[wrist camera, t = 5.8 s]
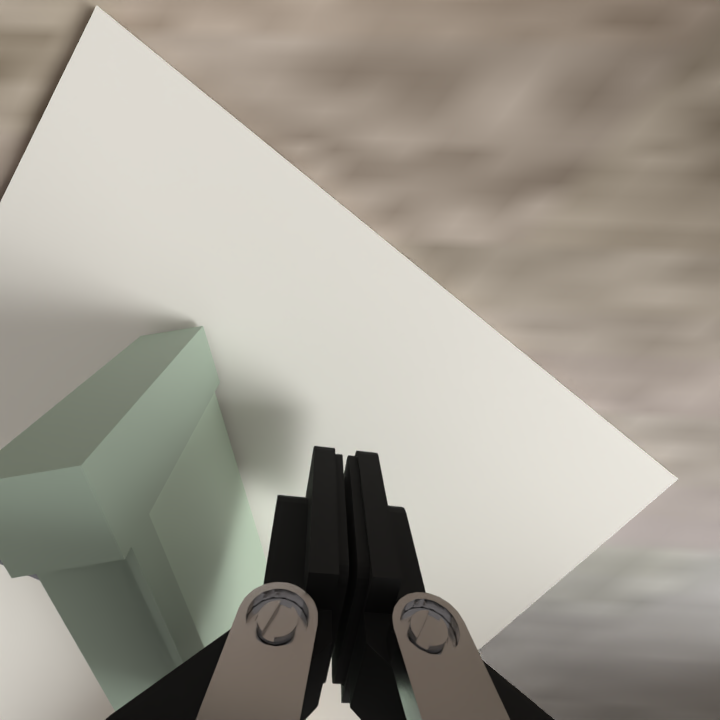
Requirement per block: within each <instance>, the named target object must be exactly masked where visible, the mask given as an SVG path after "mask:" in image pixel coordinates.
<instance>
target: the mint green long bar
mask: <svg viewBox="0 0 720 720" xmlns="http://www.w3.org/2000/svg"><path fill="white" fill-rule="evenodd" d="M219 383H220V381H219V378H218V374H217V371H216V368H215V364H214V361H213V357H212V354H211V351H210V347H209V344H208V341H207V337H206V334H205V330H204V327H203V326H199V327H193V328H187V329H181V330H175V331H168V332H162V333H156V334H150V335H144V336H140V337H139V338H138V339H136V340H135V341H134V342H133V343H131V344H130V345H129V346H128V347H126V348H125V349H124V350H123V351H122V352H120V353H119V354H118V355H117V356H115V357H114V358H113V359H112V360H110V361H109V362H108V363H107V364H106V365H104V366H103V367H102V368H101V369H99V370H98V371H97V372H96V373H94V374H93V375H92V376H91V377H90V378H88V379H87V380H86V381H85V382H83V383H82V384H81V385H80V386H78V387H77V388H76V389H75V390H74V391H72V392H71V393H70V394H69V395H67V396H66V397H65V398H64V399H62V400H61V401H60V402H59V403H58V404H56V405H55V406H54V407H53V408H51V409H50V410H49V411H48V412H46V413H45V414H44V415H43V416H42V417H40V418H39V419H38V420H37V421H35V422H34V423H33V424H32V425H30V426H29V427H28V428H27V429H26V430H24V431H23V432H22V433H21V434H19V435H18V436H17V437H16V438H14V439H13V440H12V441H11V442H10V443H8V444H7V445H6V446H5V447H3V448H2V449H1V450H0V560H1V562H2V563H3V565H4V567H5V568H6V570H7V572H8V573H9V575H10V576H11V578H16V577H22V576H28V575H34V574H36V575H37V576H38V578H39V580H40V582H41V583H42V585H43V587H44V589H45V590H46V592H47V594H48V596H49V597H50V599H51V601H52V603H53V604H54V606H55V608H56V610H57V611H58V613H59V615H60V616H61V618H62V620H63V622H64V623H65V625H66V627H67V629H68V630H69V632H70V634H71V636H72V637H73V639H74V641H75V643H76V644H77V646H78V648H79V650H80V651H81V653H82V655H83V656H84V658H85V660H86V662H87V663H88V665H89V667H90V669H91V670H92V672H93V674H94V676H95V677H96V679H97V681H98V683H99V684H100V686H101V688H102V690H103V691H104V693H105V695H106V696H107V698H108V700H109V702H110V703H111V705H112V707H113V709H114V710H115V711H117V710H118V709H119V708H121V707H122V706H124V705H125V704H126V703H128V702H129V701H131V700H132V699H133V698H135V697H136V696H138V695H139V694H140V693H142V692H143V691H145V690H146V689H147V688H149V687H150V686H152V685H153V684H154V683H156V682H157V681H159V680H160V679H161V678H163V677H164V676H166V675H167V674H168V673H170V672H171V671H172V670H174V669H175V668H177V667H178V666H179V665H181V664H182V663H184V662H185V661H186V660H188V659H189V658H191V657H192V656H193V655H195V654H196V653H198V652H199V651H200V650H202V649H203V648H205V647H206V646H207V645H209V644H210V643H212V642H213V641H214V640H216V639H217V638H219V637H220V636H221V635H223V634H224V633H226V632H227V631H228V630H230V629H231V627H232V624H233V621H234V619H235V616H236V614H237V611H238V608H239V606H240V605H241V603H242V601H243V600H244V598H245V597H246V596H247V595H248V594H249V593H250V592H251V591H252V590H253V589H255V588H258V587H260V586H262V585H263V583H264V577H265V571H266V564H267V562H266V558H265V555H264V552H263V549H262V545H261V542H260V539H259V535H258V532H257V529H256V525H255V522H254V519H253V516H252V512H251V509H250V506H249V502H248V499H247V496H246V492H245V489H244V486H243V483H242V479H241V476H240V473H239V469H238V466H237V463H236V460H235V456H234V453H233V450H232V446H231V443H230V440H229V436H228V433H227V430H226V427H225V423H224V420H223V417H222V413H221V410H220V407H219V403H218V400H217V397H216V394H215V391H216V389H217V387H218V385H219Z"/></svg>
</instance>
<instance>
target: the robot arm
mask: <svg viewBox="0 0 720 720" xmlns="http://www.w3.org/2000/svg"><path fill="white" fill-rule="evenodd" d="M331 657H332V683H333V684H341V703H350V708H351V709H352V711H353V712H354V713H355V714H356V715H357V716H358V717H359V718H360V719H361V720H554V719H553V718H552V717H551V716H549V715H548V714H547V713H546V712H544V711H543V710H542V709H541V708H540V707H538V706H537V705H536V704H535V703H534V702H532V701H531V700H530V699H529V698H527V697H526V696H525V695H524V694H523V693H521V692H520V691H519V690H518V689H517V688H515V687H514V686H513V685H512V684H510V683H509V682H508V681H507V680H506V679H504V678H503V677H502V676H501V675H500V674H498V673H497V672H496V671H495V670H493V669H492V668H491V667H490V666H489V665H487V664H486V663H485V662H484V661H483V660H482V658H481V656H480V654H479V652H478V650H477V648H476V646H475V643H474V641H473V639H472V637H471V635H470V633H469V631H468V629H467V626H466V624H465V622H464V621H463V619H462V617H461V616H460V614H459V613H458V611H457V610H456V609H455V608H454V607H453V606H452V605H451V604H450V603H448V602H447V601H445V600H443V599H442V598H440V597H438V596H436V595H433V594H430V593H426V591H425V587H424V583H423V579H422V575H421V571H420V567H419V563H418V558H417V554H416V550H415V546H414V542H413V538H412V534H411V530H410V526H409V522H408V518H407V513H406V511H405V508H404V507H399V506H389V505H388V503H387V497H386V492H385V487H384V482H383V477H382V471H381V466H380V461H379V456H378V453H374V452H366V451H356V453H355V456H351V455H348V457H347V460H346V465H345V471H344V469H343V455H342V454H335V448H330V447H321V446H314V448H313V453H312V460H311V466H310V472H309V478H308V484H307V490H306V496H305V497H296V496H286V495H277V501H276V507H275V514H274V520H273V526H272V533H271V539H270V545H269V552H268V558H267V564H266V571H265V577H264V583H263V585H262V586H260V587H258V588H255V589H253V590H252V591H251V592H250V593H249V594H248V595H247V596H246V597H245V598H244V600H243V601H242V603H241V605H240V606H239V608H238V611H237V614H236V616H235V619H234V621H233V624H232V627H231V629H230V630H228V631H227V632H226V633H224V634H223V635H221V636H220V637H219V638H217V639H216V640H214V641H213V642H212V643H210V644H209V645H207V646H206V647H205V648H203V649H202V650H200V651H199V652H198V653H196V654H195V655H193V656H192V657H191V658H189V659H188V660H186V661H185V662H184V663H182V664H181V665H179V666H178V667H177V668H175V669H174V670H172V671H171V672H170V673H168V674H167V675H166V676H164V677H163V678H161V679H160V680H159V681H157V682H156V683H154V684H153V685H152V686H150V687H149V688H147V689H146V690H145V691H143V692H142V693H140V694H139V695H138V696H136V697H135V698H133V699H132V700H131V701H129V702H128V703H126V704H125V705H124V706H122V707H121V708H119V709H118V710H117V711H115V712H114V713H112V714H111V715H110V716H109V717H108V718H106V719H105V720H306V718H307V717H308V716H309V715H310V714H311V713H312V712H313V711H314V710H315V709H316V708H317V707H318V704H319V699H320V695H321V690H322V686H323V683H326V679H327V675H328V670H329V666H330V661H331Z"/></svg>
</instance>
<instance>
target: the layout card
mask: <svg viewBox="0 0 720 720" xmlns="http://www.w3.org/2000/svg"><path fill="white" fill-rule="evenodd" d="M199 326H203V327H204V330H205V334H206V337H207V341H208V344H209V347H210V351H211V354H212V357H213V361H214V364H215V368H216V371H217V374H218V378H219V381H220V383H219V385H218V387H217V389H216V391H215V394H216V397H217V400H218V403H219V407H220V410H221V413H222V417H223V420H224V423H225V427H226V430H227V433H228V436H229V440H230V443H231V446H232V450H233V453H234V456H235V460H236V463H237V466H238V469H239V473H240V476H241V479H242V483H243V486H244V489H245V492H246V496H247V499H248V502H249V506H250V509H251V512H252V516H253V519H254V522H255V525H256V529H257V532H258V535H259V539H260V542H261V545H262V549H263V552H264V555H265V558H266V562H267V558H268V552H269V545H270V539H271V533H272V526H273V520H274V514H275V507H276V501H277V495H286V496H296V497H305V496H306V490H307V484H308V478H309V472H310V466H311V460H312V453H313V448H314V446H321V447H330V448H335V454H342V455H343V469H344V471H345V465H346V460H347V457H348V455H351V456H355V453H356V451H366V452H374V453H378V456H379V461H380V466H381V471H382V477H383V482H384V487H385V492H386V497H387V503H388V505H389V506H399V507H404V508H405V511H406V513H407V518H408V522H409V526H410V530H411V534H412V538H413V542H414V546H415V550H416V554H417V558H418V563H419V567H420V571H421V575H422V579H423V583H424V587H425V591H426V593H430V594H433V595H436V596H438V597H440V598H442V599H443V600H445V601H447V602H448V603H450V604H451V605H452V606H453V607H454V608H455V609H456V610H457V611H458V613H459V614H460V616H461V617H462V619H463V621H464V622H465V624H466V626H467V629H468V631H469V633H470V635H471V637H472V639H473V641H474V643H475V646H476V648H477V650H479V649H480V648H482V647H483V646H484V645H485V644H486V643H487V642H489V641H490V640H491V639H492V638H493V637H494V636H496V635H497V634H498V633H499V632H500V631H501V630H503V629H504V628H505V627H506V626H507V625H508V624H510V623H511V622H512V621H513V620H514V619H515V618H517V617H518V616H519V615H520V614H521V613H522V612H524V611H525V610H526V609H527V608H528V607H529V606H531V605H532V604H533V603H534V602H535V601H536V600H538V599H539V598H540V597H541V596H542V595H543V594H545V593H546V592H547V591H548V590H549V589H550V588H552V587H553V586H554V585H555V584H556V583H557V582H559V581H560V580H561V579H562V578H563V577H564V576H566V575H567V574H568V573H569V572H570V571H571V570H573V569H574V568H575V567H576V566H577V565H578V564H580V563H581V562H582V561H583V560H584V559H585V558H587V557H588V556H589V555H590V554H591V553H592V552H594V551H595V550H596V549H597V548H598V547H599V546H601V545H602V544H603V543H604V542H605V541H606V540H608V539H609V538H610V537H611V536H612V535H613V534H615V533H616V532H617V531H618V530H619V529H620V528H622V527H623V526H624V525H625V524H626V523H627V522H629V521H630V520H631V519H632V518H633V517H634V516H636V515H637V514H638V513H639V512H640V511H641V510H643V509H644V508H645V507H646V506H647V505H648V504H650V503H651V502H652V501H653V500H654V499H655V498H657V497H658V496H659V495H660V494H661V493H662V492H664V491H665V490H666V489H667V488H668V487H669V486H671V485H672V484H673V483H674V482H675V481H676V480H678V478H676V477H675V476H674V475H673V474H672V473H670V472H669V471H668V470H667V469H665V468H664V467H663V466H662V465H661V464H659V463H658V462H657V461H656V460H654V459H653V458H652V457H651V456H649V455H648V454H647V453H646V452H645V451H643V450H642V449H641V448H640V447H638V446H637V445H636V444H635V443H634V442H632V441H631V440H630V439H629V438H627V437H626V436H625V435H624V434H622V433H621V432H620V431H619V430H618V429H616V428H615V427H614V426H613V425H611V424H610V423H609V422H608V421H606V420H605V419H604V418H603V417H602V416H600V415H599V414H598V413H597V412H595V411H594V410H593V409H592V408H591V407H589V406H588V405H587V404H586V403H584V402H583V401H582V400H581V399H579V398H578V397H577V396H576V395H575V394H573V393H572V392H571V391H570V390H568V389H567V388H566V387H565V386H564V385H562V384H561V383H560V382H559V381H557V380H556V379H555V378H554V377H552V376H551V375H550V374H549V373H548V372H546V371H545V370H544V369H543V368H541V367H540V366H539V365H538V364H537V363H535V362H534V361H533V360H532V359H530V358H529V357H528V356H527V355H525V354H524V353H523V352H522V351H521V350H519V349H518V348H517V347H516V346H514V345H513V344H512V343H511V342H509V341H508V340H507V339H506V338H505V337H503V336H502V335H501V334H500V333H498V332H497V331H496V330H495V329H494V328H492V327H491V326H490V325H489V324H487V323H486V322H485V321H484V320H482V319H481V318H480V317H479V316H478V315H476V314H475V313H474V312H473V311H471V310H470V309H469V308H468V307H467V306H465V305H464V304H463V303H462V302H460V301H459V300H458V299H457V298H455V297H454V296H453V295H452V294H451V293H449V292H448V291H447V290H446V289H444V288H443V287H442V286H441V285H440V284H438V283H437V282H436V281H435V280H433V279H432V278H431V277H430V276H428V275H427V274H426V273H425V272H424V271H422V270H421V269H420V268H419V267H417V266H416V265H415V264H414V263H412V262H411V261H410V260H409V259H408V258H406V257H405V256H404V255H403V254H401V253H400V252H399V251H398V250H397V249H395V248H394V247H393V246H392V245H390V244H389V243H388V242H387V241H385V240H384V239H383V238H382V237H381V236H379V235H378V234H377V233H376V232H374V231H373V230H372V229H371V228H370V227H368V226H367V225H366V224H365V223H363V222H362V221H361V220H360V219H358V218H357V217H356V216H355V215H354V214H352V213H351V212H350V211H349V210H347V209H346V208H345V207H344V206H343V205H341V204H340V203H339V202H338V201H336V200H335V199H334V198H333V197H331V196H330V195H329V194H328V193H327V192H325V191H324V190H323V189H322V188H320V187H319V186H318V185H317V184H315V183H314V182H313V181H312V180H311V179H309V178H308V177H307V176H306V175H304V174H303V173H302V172H301V171H300V170H298V169H297V168H296V167H295V166H293V165H292V164H291V163H290V162H288V161H287V160H286V159H285V158H284V157H282V156H281V155H280V154H279V153H277V152H276V151H275V150H274V149H273V148H271V147H270V146H269V145H268V144H266V143H265V142H264V141H263V140H261V139H260V138H259V137H258V136H257V135H255V134H254V133H253V132H252V131H250V130H249V129H248V128H247V127H246V126H244V125H243V124H242V123H241V122H239V121H238V120H237V119H236V118H234V117H233V116H232V115H231V114H230V113H228V112H227V111H226V110H225V109H223V108H222V107H221V106H220V105H218V104H217V103H216V102H215V101H214V100H212V99H211V98H210V97H209V96H207V95H206V94H205V93H204V92H203V91H201V90H200V89H199V88H198V87H196V86H195V85H194V84H193V83H191V82H190V81H189V80H188V79H187V78H185V77H184V76H183V75H182V74H180V73H179V72H178V71H177V70H176V69H174V68H173V67H172V66H171V65H169V64H168V63H167V62H166V61H164V60H163V59H162V58H161V57H160V56H158V55H157V54H156V53H155V52H153V51H152V50H151V49H150V48H149V47H147V46H146V45H145V44H144V43H142V42H141V41H140V40H139V39H137V38H136V37H135V36H134V35H133V34H131V33H130V32H129V31H128V30H126V29H125V28H124V27H123V26H121V25H120V24H119V23H118V22H117V21H115V20H114V19H113V18H112V17H110V16H109V15H108V14H107V13H106V12H104V11H103V10H102V9H101V8H99V7H98V6H97V5H96V7H95V9H94V12H93V14H92V16H91V18H90V20H89V22H88V24H87V26H86V28H85V30H84V32H83V34H82V36H81V38H80V40H79V42H78V44H77V46H76V48H75V50H74V52H73V55H72V57H71V59H70V61H69V63H68V65H67V67H66V69H65V71H64V73H63V75H62V77H61V79H60V81H59V83H58V85H57V87H56V89H55V91H54V93H53V95H52V97H51V100H50V102H49V104H48V106H47V108H46V110H45V112H44V114H43V116H42V118H41V120H40V122H39V124H38V126H37V128H36V130H35V132H34V134H33V136H32V138H31V140H30V142H29V145H28V147H27V149H26V151H25V153H24V155H23V157H22V159H21V161H20V163H19V165H18V167H17V169H16V171H15V173H14V175H13V177H12V179H11V181H10V183H9V185H8V188H7V190H6V192H5V194H4V196H3V198H2V200H1V202H0V450H1V449H2V448H3V447H5V446H6V445H7V444H8V443H10V442H11V441H12V440H13V439H14V438H16V437H17V436H18V435H19V434H21V433H22V432H23V431H24V430H26V429H27V428H28V427H29V426H30V425H32V424H33V423H34V422H35V421H37V420H38V419H39V418H40V417H42V416H43V415H44V414H45V413H46V412H48V411H49V410H50V409H51V408H53V407H54V406H55V405H56V404H58V403H59V402H60V401H61V400H62V399H64V398H65V397H66V396H67V395H69V394H70V393H71V392H72V391H74V390H75V389H76V388H77V387H78V386H80V385H81V384H82V383H83V382H85V381H86V380H87V379H88V378H90V377H91V376H92V375H93V374H94V373H96V372H97V371H98V370H99V369H101V368H102V367H103V366H104V365H106V364H107V363H108V362H109V361H110V360H112V359H113V358H114V357H115V356H117V355H118V354H119V353H120V352H122V351H123V350H124V349H125V348H126V347H128V346H129V345H130V344H131V343H133V342H134V341H135V340H136V339H138V338H139V337H140V336H144V335H150V334H156V333H162V332H168V331H175V330H181V329H187V328H193V327H199ZM114 712H115V710H114V709H113V707H112V705H111V703H110V702H109V700H108V698H107V696H106V695H105V693H104V691H103V690H102V688H101V686H100V684H99V683H98V681H97V679H96V677H95V676H94V674H93V672H92V670H91V669H90V667H89V665H88V663H87V662H86V660H85V658H84V656H83V655H82V653H81V651H80V650H79V648H78V646H77V644H76V643H75V641H74V639H73V637H72V636H71V634H70V632H69V630H68V629H67V627H66V625H65V623H64V622H63V620H62V618H61V616H60V615H59V613H58V611H57V610H56V608H55V606H54V604H53V603H52V601H51V599H50V597H49V596H48V594H47V592H46V590H45V589H44V587H43V585H42V583H41V582H40V580H39V578H38V576H37V575H36V574H34V575H28V576H22V577H16V578H11V576H10V575H9V573H8V572H7V570H6V568H5V567H4V565H3V563H2V562H1V560H0V720H105V719H106V718H108V717H109V716H110V715H111V714H112V713H114ZM306 720H361V719H360V718H359V717H358V716H357V715H356V714H355V713H354V712H353V711H352V709H351V708H350V703H341V684H333V683H332V657H331V661H330V666H329V670H328V675H327V679H326V683H323V686H322V690H321V695H320V699H319V704H318V707H317V708H316V709H315V710H314V711H313V712H312V713H311V714H310V715H309V716H308V717H307V718H306Z"/></svg>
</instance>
